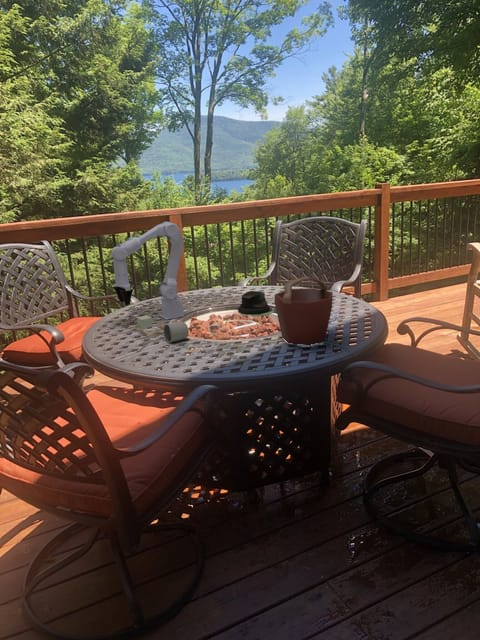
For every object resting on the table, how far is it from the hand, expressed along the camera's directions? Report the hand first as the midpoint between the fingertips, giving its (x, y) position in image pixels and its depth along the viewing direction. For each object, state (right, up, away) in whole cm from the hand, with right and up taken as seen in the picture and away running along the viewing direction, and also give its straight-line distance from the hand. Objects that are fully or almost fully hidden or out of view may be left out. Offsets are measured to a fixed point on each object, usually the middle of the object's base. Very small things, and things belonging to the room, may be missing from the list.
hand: (124, 303), depth 220 cm
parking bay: (+15, -12, -10) cm, 22 cm away
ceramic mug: (+26, -16, -21) cm, 37 cm away
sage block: (+10, -10, -2) cm, 14 cm away
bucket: (+77, -16, -28) cm, 84 cm away
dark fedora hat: (+59, -3, +16) cm, 61 cm away
